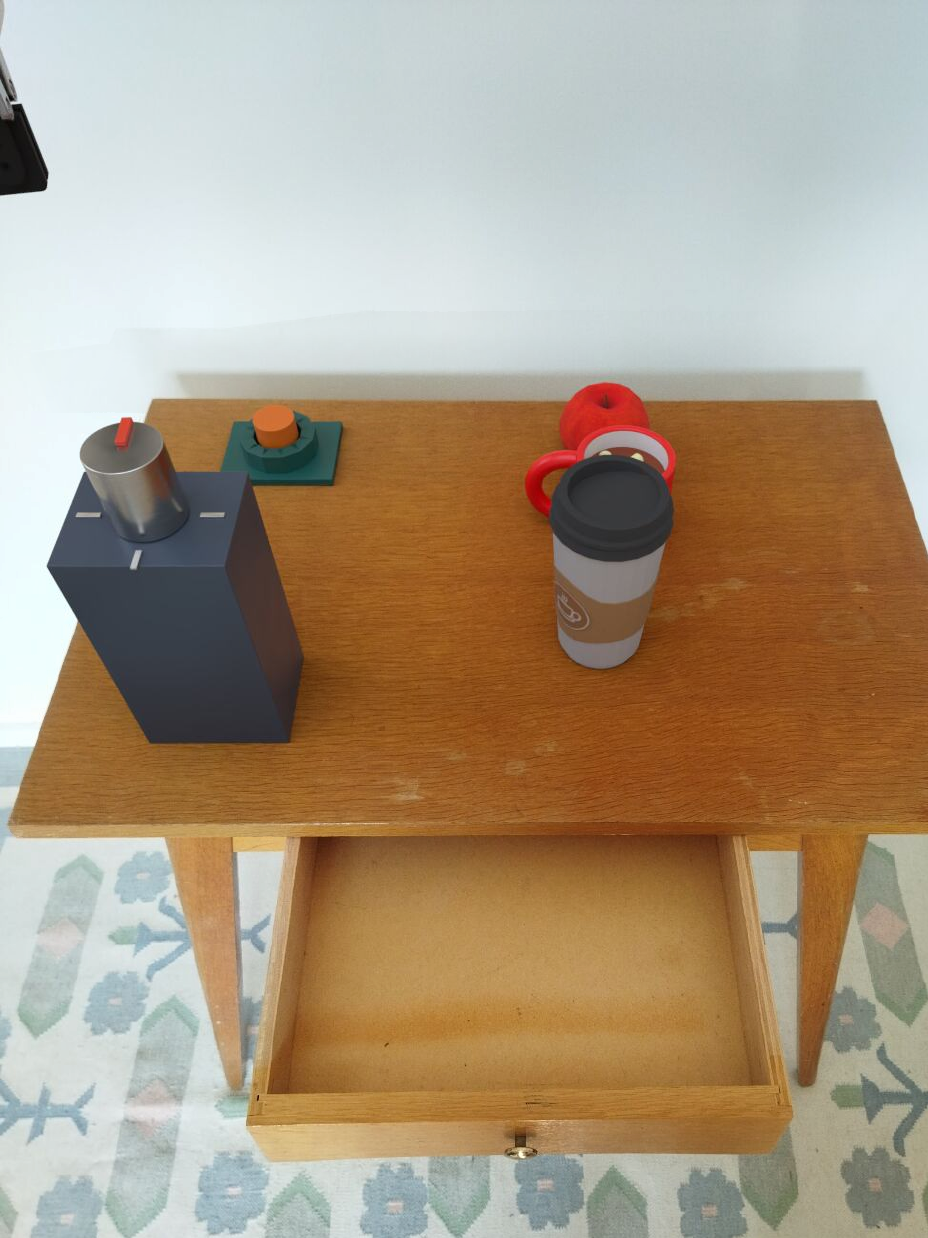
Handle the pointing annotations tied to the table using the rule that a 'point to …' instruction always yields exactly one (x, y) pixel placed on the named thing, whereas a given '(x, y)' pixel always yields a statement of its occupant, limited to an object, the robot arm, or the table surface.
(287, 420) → the button
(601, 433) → the mug
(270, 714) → the tall knob tower
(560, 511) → the coffee cup
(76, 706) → the table surface
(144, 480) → the dial
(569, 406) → the apple
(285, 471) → the push button base
